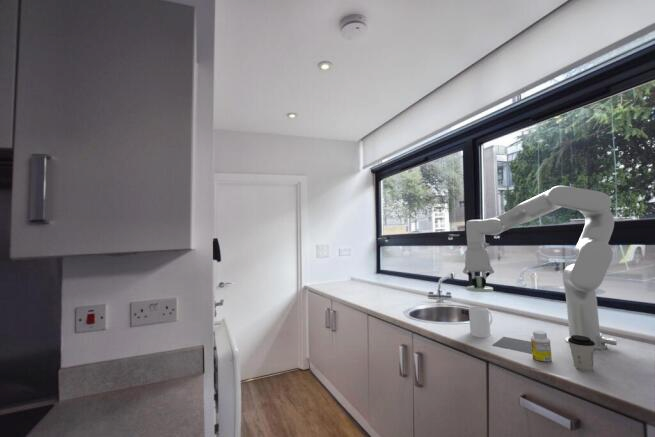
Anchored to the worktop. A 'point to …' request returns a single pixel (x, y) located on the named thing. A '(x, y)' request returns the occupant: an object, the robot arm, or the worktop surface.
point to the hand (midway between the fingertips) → (479, 286)
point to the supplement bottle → (541, 347)
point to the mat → (514, 344)
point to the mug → (479, 321)
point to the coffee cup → (582, 352)
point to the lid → (479, 286)
